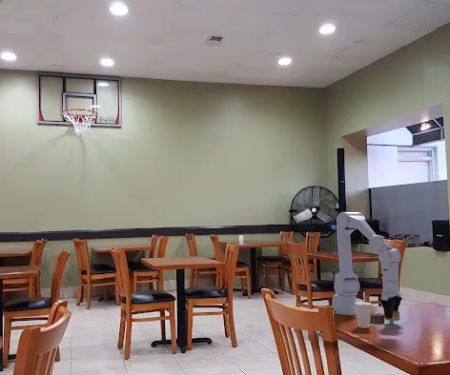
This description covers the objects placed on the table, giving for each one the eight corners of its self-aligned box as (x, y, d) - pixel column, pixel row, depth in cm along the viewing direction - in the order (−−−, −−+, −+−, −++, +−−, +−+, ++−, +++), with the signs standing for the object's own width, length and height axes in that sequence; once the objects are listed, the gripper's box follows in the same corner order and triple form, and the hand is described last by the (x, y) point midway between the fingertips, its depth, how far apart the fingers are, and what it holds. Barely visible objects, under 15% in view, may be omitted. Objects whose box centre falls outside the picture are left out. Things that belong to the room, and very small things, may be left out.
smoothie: (363, 332, 173) (362, 293, 174) (351, 329, 179) (350, 291, 180) (376, 330, 176) (375, 292, 177) (364, 327, 182) (363, 289, 183)
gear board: (362, 327, 182) (362, 314, 182) (379, 319, 196) (379, 307, 197) (394, 331, 175) (394, 318, 175) (409, 322, 189) (409, 310, 189)
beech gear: (382, 319, 182) (382, 311, 182) (387, 317, 186) (387, 309, 186) (396, 321, 178) (396, 313, 178) (401, 319, 183) (401, 311, 183)
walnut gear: (370, 323, 184) (369, 315, 184) (369, 320, 189) (369, 312, 189) (384, 323, 182) (384, 315, 182) (384, 320, 187) (383, 313, 187)
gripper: (394, 283, 175) (395, 321, 174) (407, 279, 186) (408, 315, 185) (375, 282, 179) (376, 319, 178) (388, 278, 191) (389, 312, 190)
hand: (391, 316), depth 182 cm, fingers closed on beech gear, 5 cm apart
